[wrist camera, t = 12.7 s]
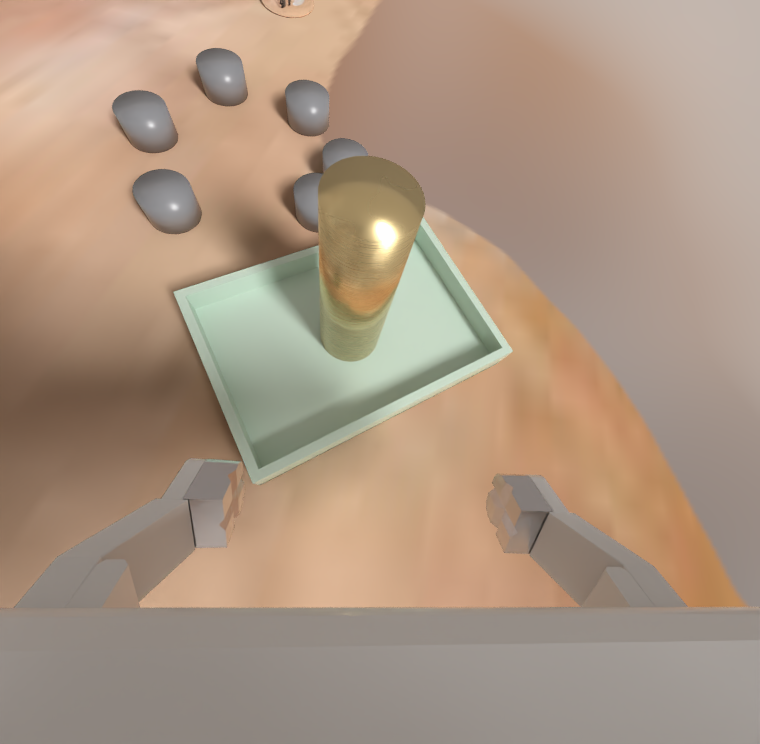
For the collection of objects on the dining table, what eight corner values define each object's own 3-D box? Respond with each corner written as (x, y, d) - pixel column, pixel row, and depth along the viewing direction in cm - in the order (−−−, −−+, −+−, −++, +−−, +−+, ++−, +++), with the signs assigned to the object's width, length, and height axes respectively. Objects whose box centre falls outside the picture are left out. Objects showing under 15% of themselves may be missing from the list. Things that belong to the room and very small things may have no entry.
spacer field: (174, 279, 26) (159, 258, 24) (98, 97, 31) (79, 65, 29) (387, 212, 32) (392, 190, 29) (294, 67, 36) (292, 38, 34)
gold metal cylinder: (335, 370, 25) (348, 254, 13) (310, 321, 26) (299, 169, 14) (388, 347, 26) (444, 222, 14) (361, 301, 27) (393, 146, 15)
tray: (260, 484, 22) (252, 483, 20) (187, 311, 25) (173, 291, 23) (496, 363, 28) (513, 351, 26) (412, 234, 31) (420, 212, 29)
